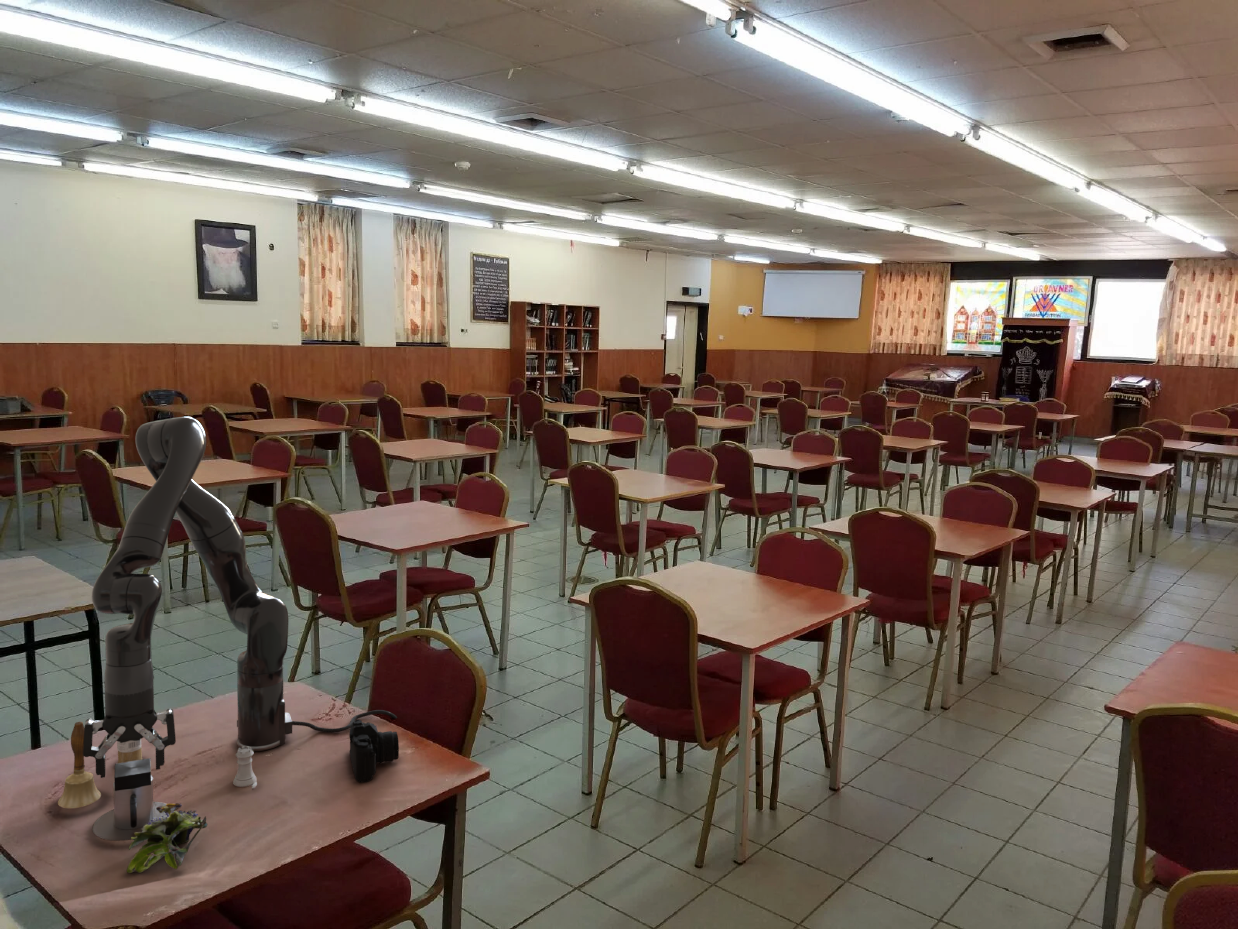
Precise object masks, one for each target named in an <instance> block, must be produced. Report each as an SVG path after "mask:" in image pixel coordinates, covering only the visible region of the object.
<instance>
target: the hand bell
mask: <svg viewBox="0 0 1238 929" xmlns="http://www.w3.org/2000/svg"><path fill="white" fill-rule="evenodd" d="M84 727H85V724H84V722H83V721H76V722H75V723H74V726H73V728H72V732H71V736H70V746H71V751H72V753H73V756H74V760H73V773H71V774H70V775H68V776H66V778H65V780H64V788H63V792H62V795H61V796H60V798H59V799H58V800H57V805H58V806H59V807H61V808H64V809H78V808H82V807H87V806H89V805H91V804H93V803H95V802H97V801H98V800H100V798H101V796H102V793H101V792H100V790H99V789H98V788H97V786H96V783H95V779H94V774H93V773H92V772H90V771H85V766H86V765H85V757H84V756H83V747H84Z"/></svg>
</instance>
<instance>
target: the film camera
mask: <svg viewBox="0 0 1238 929" xmlns="http://www.w3.org/2000/svg"><path fill="white" fill-rule="evenodd" d="M348 734H349V735H348V736H349V737H348V738H349V750H348V751H349V752H348V753H349V758H350V763H351V768H352V772H353V775H354V778H355V781H356V782H358V783H367V782H370V781H372V780H373V778H374V777H373V776H374V775H375V774H376V772H377V769H376V768H377V764H384V763H391V762H393V761H396V760H399V757H400V756H399V755H400V744H399V743H400V742H399V734H398V732H397V731H392V730H388V731H378V727H377V725H375V724H374V723H372V722H363V721H362V720H360V718H358V719H356V720H355V721H353V724H352V725H351V727H350V728H349V732H348Z"/></svg>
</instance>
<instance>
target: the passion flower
mask: <svg viewBox="0 0 1238 929" xmlns="http://www.w3.org/2000/svg"><path fill="white" fill-rule="evenodd" d="M166 804H167V805H166V806H159V807H157V808H156V809H157V810H158V811H159V813H165V814H166V815H167V817H164V816H162V817H161V818H160V817H159V818H156V819H154V818H152V819H154V820H151V821H149V822H148V823H147V825H145V826H143V827H144V828H142V830H143V831H142V832H141V833H140V832H139V833H138V832H136V833H134V834H135V836H137V837H131V839H132V841H131V843H130V844H129V846H128V851H131V850H132V849H133V848H135V846H138V845H139V844H141V843H144V842H145V841H146V843H144V844H143V845H142V846H141V847H140V848H139V850H138V851H137V852H135V854H134V856H133V857H132V859H130V861H129V862H128V865H127V868H126V873H128V874H132V873H134V872H136V873H143V872H145V871H146V870H148V869H150V868H151V867H152V866H153V865H155V864H156V863H157V862H159V860H161V859H162V858H163V857H164V861H165V862H166V864H167V866H168V867H171V868H173V869H174V870H177V869H178V867H180V866H182V863H183V860H184V858H185V856H186V854H187V853H188V851H189V848H190V845H191V844H192V843H193V841H194V840H195V838H196V837H197V836H198V834H199V833H200V831H201V830H202V829H205V828H207V827H208V823H207V816H206V815H205V816H204V817H203V819H201V818H202V817H201V816H198V815H199V814H198V813H196V812H197V810H192V809H190V810H188V811H187V812H186V810H184V811H183V810H179V809H180V808H182V805H183V804H182V802H177V803H166ZM173 811H174V812H173ZM195 829H197V831H196V832H195V833H194V835H193V836H192V838H191V839H190V836H191V834H192V832H193V831H194V830H195ZM184 843H187V844H186V845H185V846H184V847H182V848H181V847H179V845H182V844H184ZM176 861H177V862H178V864H177V862H176Z"/></svg>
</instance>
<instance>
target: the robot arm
mask: <svg viewBox="0 0 1238 929" xmlns="http://www.w3.org/2000/svg"><path fill="white" fill-rule="evenodd" d="M206 435H207V434H206V431H205V429H204V426H203V425H202V424H201V423H200V422H199V421H198V420H197V419H196V418H194V417H191V416H179V417H172V418H165V419H159V420H154V421H150V422H146V423H143V424H141V425H140V426H139V427H138V428H137V430H136V433H135V437H134V438H135V446H136V450H137V453H138V455H139V457H140V459H141V461H142V463H143V464H144V466H145V468H146V469H147V471H148V472H149V473H150V475H151V476H152V478H153V479H154V481H155V483H154V484H153V485H152V486H151V487H150V489H149V490H148V491H147V492H145V494H144V496H142V498H141V499H140V500H139V501H138V502H137V504H136V505H135V507H134V508H133V509H132V511H131V513H130V514H129V516H128V518H127V521H126V523H125V525H124V530H123V533H122V535H121V539H120V542H119V545H118V547H117V549H116V551H115V552H114V553H113V555H112V557H111V558H110V560H109V561H108V563H107V564H106V565H105V567H104V568H103V569H102V571H101V572H100V574H99V575H98V576H97V578H96V580H95V582H94V584H93V587H92V590H91V602H92V605H93V607H94V609H95V610H96V611H97V612H99V613H101V614H106V615H133V618H134V619H133V621H132V622H130V623H125V624H119V625H116V626H113V627H112V628H110V629H109V630H108V631H107V632H106V634H105V639H104V645H105V648H104V650H105V669H104V680H103V684H104V717H103V719H98V720H93V718H87V719H86V720H85V721H84V747H83V756H84V758H89V757H91V758H93V759H94V760H95V775H96V776H100V779H104V778H106V774H107V770H106V767H107V766H106V754H107V752H108V751H109V750H110V749H112V747H113V746H114V745H115V743H117V741H118V742H120V743H124V742H127V741H130V740H131V741H138V740H140V739H141V740H142V739H143V738H144V739H145V740H146V741H147V742H148V743H149V744H152V746H154V747H155V770H161V767H163V766H164V765H165V749H166V748H167V747H168V746H174V745H176V742H177V740H176V726H175V715H174V709H172V708H167V709H166V710H165V711H161V712H156V710H155V689H154V688H155V686H154V682H155V681H154V680H155V675H154V665H153V658H152V656H153V654H152V635H153V630H154V625H155V621H156V617H157V613H158V610H159V608H160V604H161V601H162V596H163V587H162V584H161V582H160V580H159V579H158V577H157V576H155V575H153V574H150V573H134V572H136V571H139V570H142V569H146V568H151V567H154V566H156V565H158V564H159V562H161V559H162V556H163V553H164V550H165V546H166V543H167V541H168V536H169V533H170V530H171V526H172V523H173V521H174V517H175V515H177V517H178V519H179V521H180V523H181V525H182V526H183V528H184V530H185V533H186V534H187V537H188V538H189V541H190V542H191V544H192V546H193V547H194V550H195V551H196V554H198V556H199V558H200V560H201V561H202V563H203V565H204V567H205V568H206V571H207V572H208V575H209V576H210V578H211V579H212V580H213V582H214V584H215V586H216V587H217V590H218V592H219V595H220V597H221V599H222V603H223V605H224V607H225V611H226V613H227V615H228V618H229V620H230V622H231V624H232V626H233V627H234V628H235V629H236V630H237V631H239V632H240V633H242V634H244V635H247V636H246V650H244V651H242V652H241V653H239V654H238V655H237V659H236V681H237V682H236V683H237V684H236V688H237V689H236V691H237V719H236V728H237V741H236V744H237V748H238V749H239V748H241V749H242V747H243V746H244V749H245V748H246V747H247V746H249V749H250V747H251V748H252V751H253V752H263V751H268V750H271V749H275V748H277V747H278V746H281V745H285V744H286V735H292V734H293V726H298V727H299V726H302V727H308V728H310V729H311V730H313V731H317V732H322V733H341V732H344V731H347V730H350V727H351V725H352V724H353V721H355V720H357V719H361V718H364V717H368V716H373V715H385V716H388V717H390V718H392V719H397V718H398V717H397V715H396V714H394V713H392V712H390V711H388V710H383V709H376V710H370V711H366V712H362V713H358V714H356V715H354V716H353V717H352V718H351V720H350V721H349V722H348V724H347V725H345V726H342V727H335V728H329V727H321V726H317V725H315V724H313V723H310V722H307V721H299V720H297V721H296V720H295V721H294V720H292V718H291V714H290V712H286V702H285V699H284V658H285V656H286V654H287V651H288V644H289V643H288V642H289V621H290V620H289V611H288V608H287V605H286V603H285V602H284V601H283V600H281V599H280V598H277V597H276V596H273V595H270V594H268V593H265V592H264V591H262V590H261V588H260V587H259V585H258V584H257V582H256V581H255V579H254V577H253V575H252V574H251V571H250V568H249V566H248V563H247V546H246V545H247V544H246V540H245V539H246V538H245V536H244V533H243V530H242V529H241V528H240V525H239V524H238V521H237V520H236V517H235V516H234V513H233V512H232V510H231V509H230V508H229V507H228V506H227V505H226V504H225V503H224V502H223V501H221V500H220V499H219V498H218V497H216V496H215V495H213V494H212V493H210V492H209V491H208V490H207V489H205V488H204V487H203V486H201V485H199V484H198V482H196V481H195V480H194V476H195V474H196V472H197V470H198V468H199V466H200V464H201V462H202V460H203V458H204V455H205V452H206V448H207V436H206ZM158 721H160V722H161V724H162V725H165V726H166V734H167V735H166V736H164V737H162V736H161V734H159V733H158V732H157V730H156V729H155V728H154V727H153V726H154V725H155V724H156V723H157V722H158ZM101 728H102V729H103V730H104V731H105V732H106V733H107V734H106V735H105V736H104V738H103V740H102V741H101V743H99V745H98V746H93V739H94V738H93V737H94V736H93V735H95V734H97V733H98V732H99V730H100V729H101Z"/></svg>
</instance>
